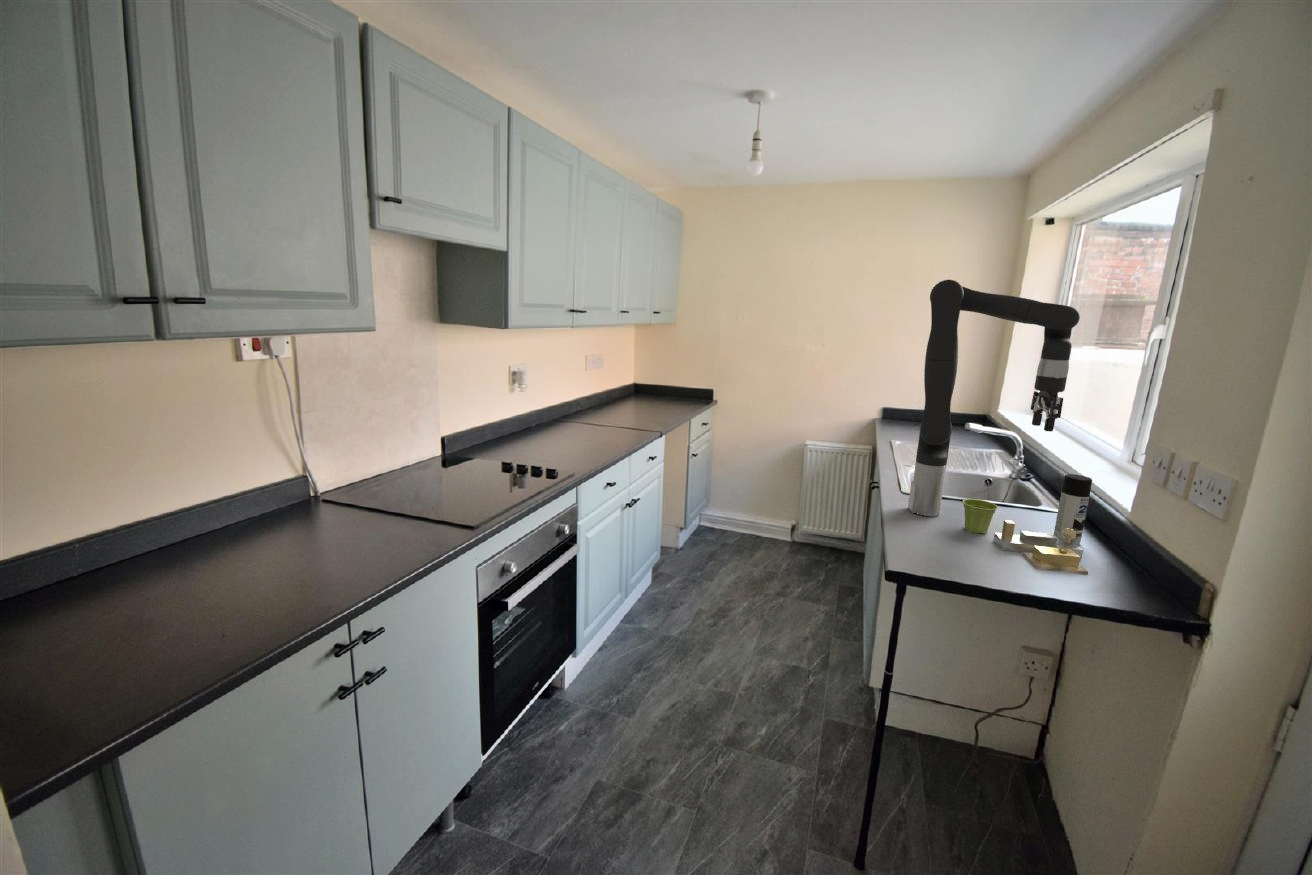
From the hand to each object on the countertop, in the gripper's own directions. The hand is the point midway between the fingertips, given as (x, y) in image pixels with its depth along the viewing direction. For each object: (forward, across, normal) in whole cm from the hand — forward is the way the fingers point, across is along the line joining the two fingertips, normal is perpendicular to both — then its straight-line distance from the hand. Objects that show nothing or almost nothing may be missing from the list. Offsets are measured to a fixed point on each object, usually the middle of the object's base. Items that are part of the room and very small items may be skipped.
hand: (1041, 428), depth 170 cm
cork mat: (+32, +28, -3) cm, 43 cm away
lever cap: (+31, +28, -3) cm, 42 cm away
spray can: (+32, +9, +8) cm, 34 cm away
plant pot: (+32, +7, -16) cm, 37 cm away
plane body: (+32, +18, -3) cm, 37 cm away
